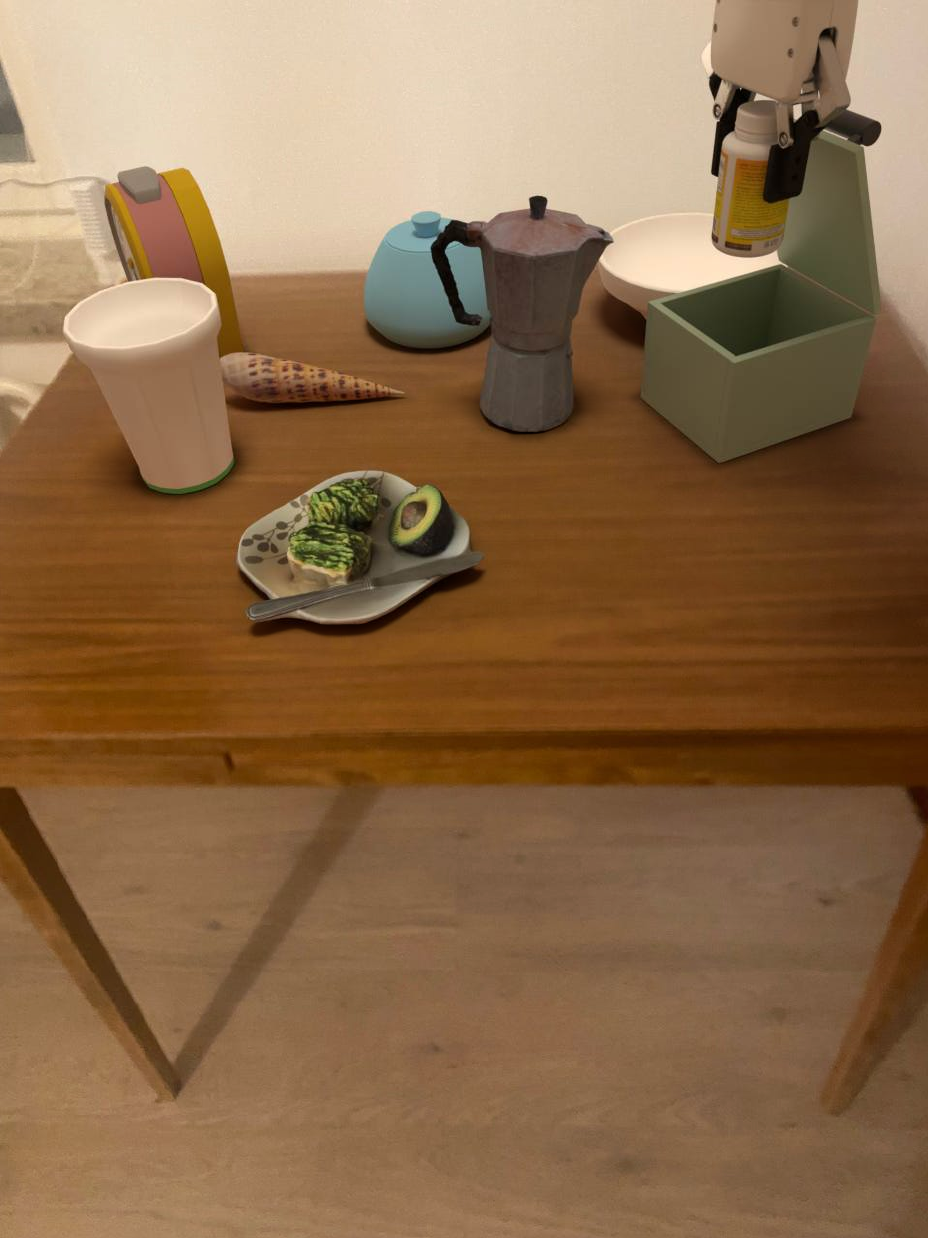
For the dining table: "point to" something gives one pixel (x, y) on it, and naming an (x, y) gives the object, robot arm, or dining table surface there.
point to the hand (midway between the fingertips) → (755, 182)
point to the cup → (159, 376)
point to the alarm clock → (171, 238)
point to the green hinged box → (753, 360)
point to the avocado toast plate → (353, 549)
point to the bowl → (668, 259)
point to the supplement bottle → (748, 186)
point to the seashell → (293, 381)
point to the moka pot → (526, 307)
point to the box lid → (836, 214)
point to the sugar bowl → (423, 287)
